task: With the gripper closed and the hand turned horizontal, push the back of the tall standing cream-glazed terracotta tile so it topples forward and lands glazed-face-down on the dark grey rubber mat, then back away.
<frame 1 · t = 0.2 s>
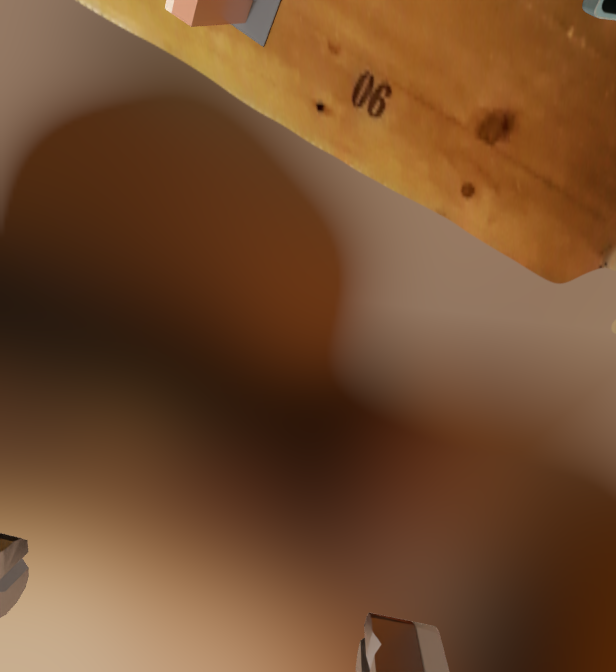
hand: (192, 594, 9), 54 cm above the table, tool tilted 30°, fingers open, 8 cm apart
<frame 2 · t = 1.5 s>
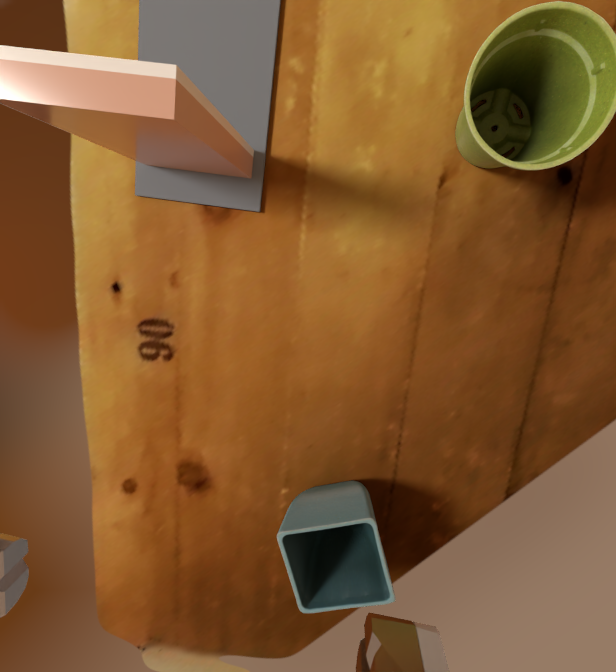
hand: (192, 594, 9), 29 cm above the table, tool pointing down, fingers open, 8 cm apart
tile: (199, 157, 34), resting on mat
plant pot: (489, 131, 32), on the table
flower pot: (337, 500, 42), on the table
mat: (206, 72, 33), on the table
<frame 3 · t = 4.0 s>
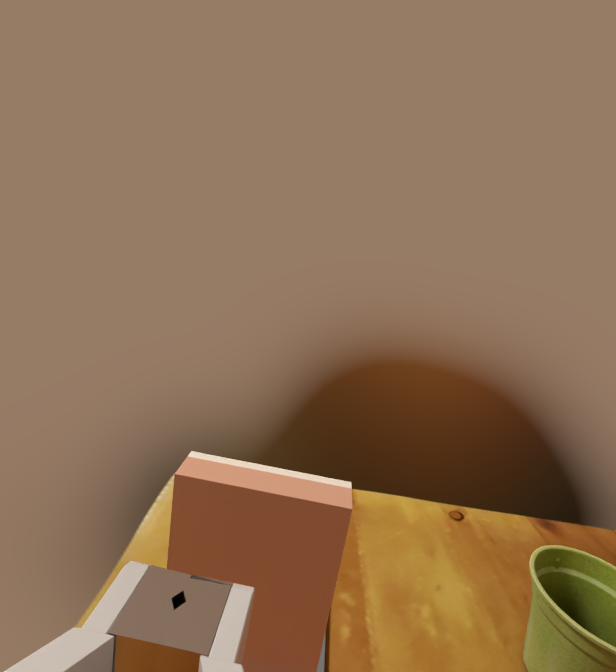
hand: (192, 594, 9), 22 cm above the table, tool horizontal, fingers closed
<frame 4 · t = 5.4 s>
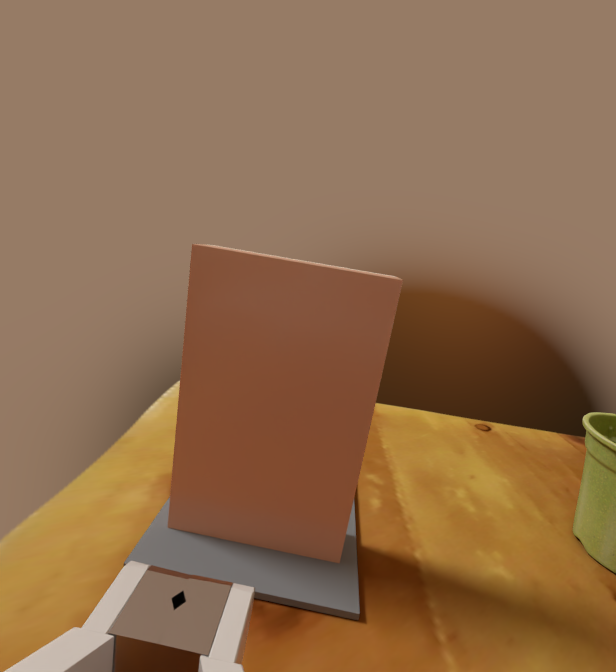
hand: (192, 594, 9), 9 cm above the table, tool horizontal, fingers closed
tile: (257, 529, 22), resting on mat
mat: (276, 468, 29), on the table
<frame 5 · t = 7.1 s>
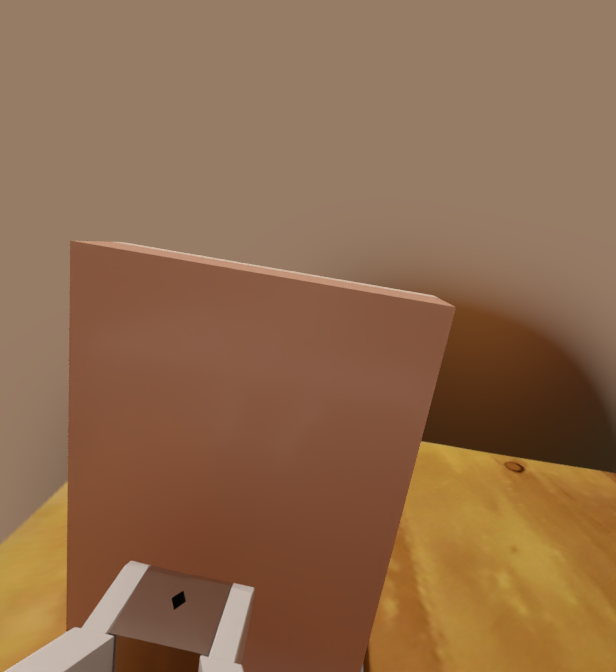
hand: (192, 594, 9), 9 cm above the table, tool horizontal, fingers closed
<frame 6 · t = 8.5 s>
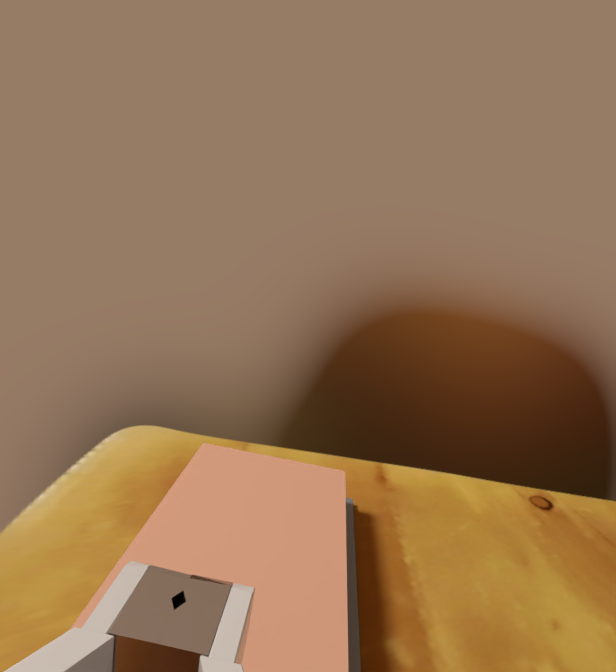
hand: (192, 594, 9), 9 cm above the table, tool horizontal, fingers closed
mat: (222, 642, 16), on the table
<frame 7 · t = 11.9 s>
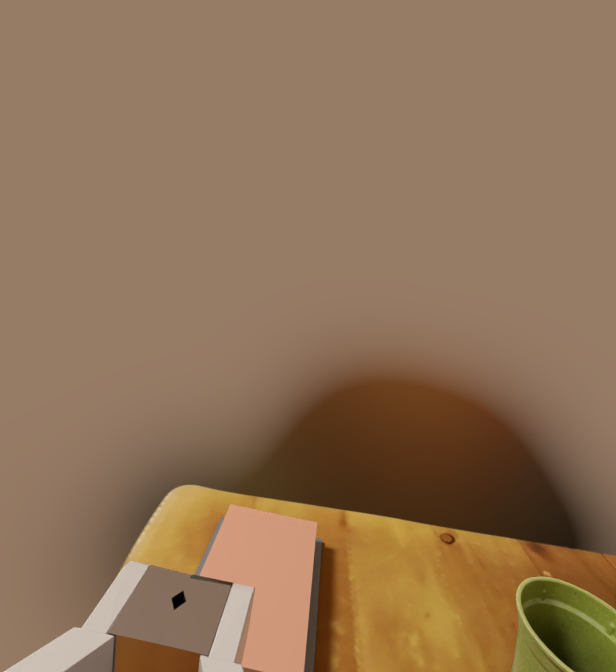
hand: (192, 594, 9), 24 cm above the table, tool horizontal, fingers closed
mat: (248, 621, 33), on the table
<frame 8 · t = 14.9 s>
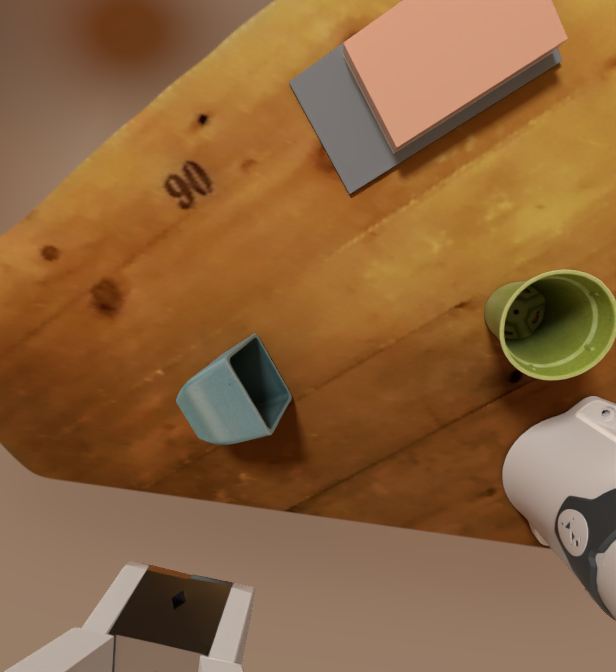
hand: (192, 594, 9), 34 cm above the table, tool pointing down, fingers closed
tile: (369, 101, 35), point 2 cm above the table, tilted 90°, touching mat
plant pot: (511, 310, 40), on the table
flower pot: (196, 409, 42), point 3 cm above the table
mat: (420, 73, 36), on the table
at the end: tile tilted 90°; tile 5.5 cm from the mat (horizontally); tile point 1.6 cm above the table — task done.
